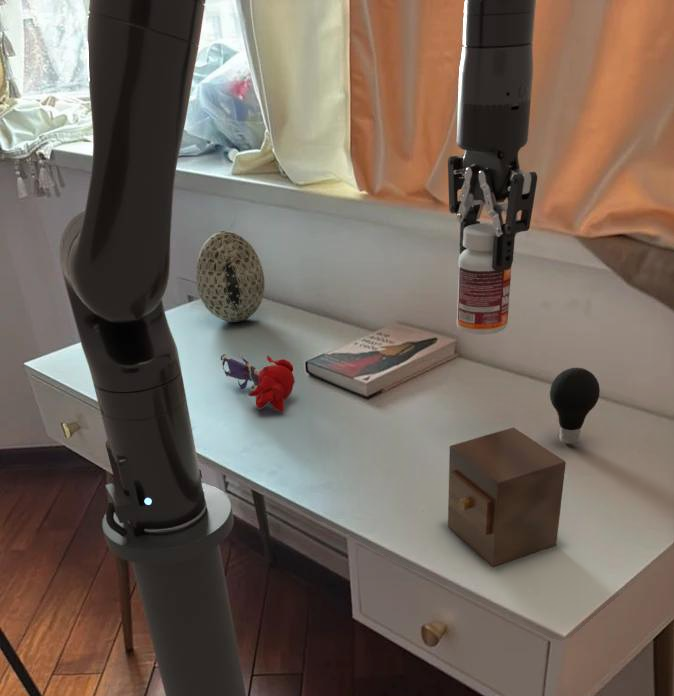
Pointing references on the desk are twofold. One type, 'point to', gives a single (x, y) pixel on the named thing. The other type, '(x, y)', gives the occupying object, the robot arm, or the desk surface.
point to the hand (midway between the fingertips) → (485, 261)
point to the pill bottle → (481, 284)
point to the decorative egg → (229, 277)
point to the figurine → (264, 380)
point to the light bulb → (573, 400)
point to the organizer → (505, 495)
